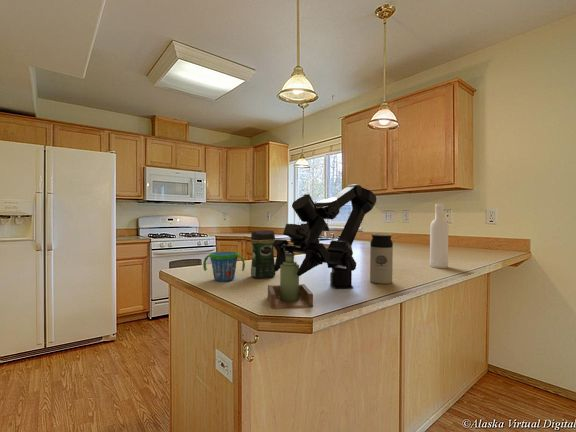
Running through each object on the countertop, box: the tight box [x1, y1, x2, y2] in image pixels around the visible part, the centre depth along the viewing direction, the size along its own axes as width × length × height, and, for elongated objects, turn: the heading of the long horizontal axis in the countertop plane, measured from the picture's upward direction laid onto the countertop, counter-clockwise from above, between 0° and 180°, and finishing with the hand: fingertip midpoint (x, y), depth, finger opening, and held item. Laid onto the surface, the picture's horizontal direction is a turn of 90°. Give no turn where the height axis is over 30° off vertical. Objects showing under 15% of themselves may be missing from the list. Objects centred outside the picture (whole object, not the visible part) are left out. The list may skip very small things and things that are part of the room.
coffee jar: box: [250, 229, 276, 279], centre depth 125 cm, size 10×8×19 cm
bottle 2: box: [429, 203, 449, 269], centre depth 150 cm, size 8×8×30 cm
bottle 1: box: [279, 252, 300, 302], centre depth 90 cm, size 5×5×13 cm
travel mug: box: [369, 232, 394, 285], centre depth 117 cm, size 8×8×18 cm
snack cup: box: [202, 251, 246, 282], centre depth 119 cm, size 16×10×10 cm
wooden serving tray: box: [267, 283, 314, 309], centre depth 90 cm, size 11×11×4 cm
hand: (285, 272), depth 89 cm, fingers open, 9 cm apart
